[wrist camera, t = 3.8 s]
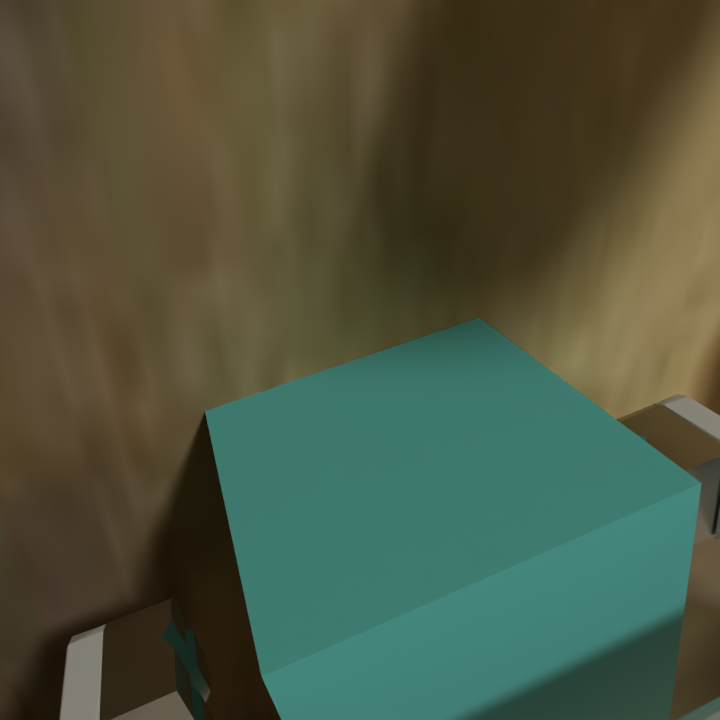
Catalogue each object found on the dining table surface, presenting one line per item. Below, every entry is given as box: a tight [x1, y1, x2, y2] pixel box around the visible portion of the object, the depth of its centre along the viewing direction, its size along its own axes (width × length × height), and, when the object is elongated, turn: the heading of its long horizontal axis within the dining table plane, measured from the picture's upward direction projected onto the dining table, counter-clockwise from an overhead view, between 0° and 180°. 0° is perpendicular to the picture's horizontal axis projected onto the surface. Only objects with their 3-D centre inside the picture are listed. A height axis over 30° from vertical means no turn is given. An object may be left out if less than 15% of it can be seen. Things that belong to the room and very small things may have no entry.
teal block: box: [205, 318, 701, 720], centre depth 9 cm, size 5×5×5 cm
